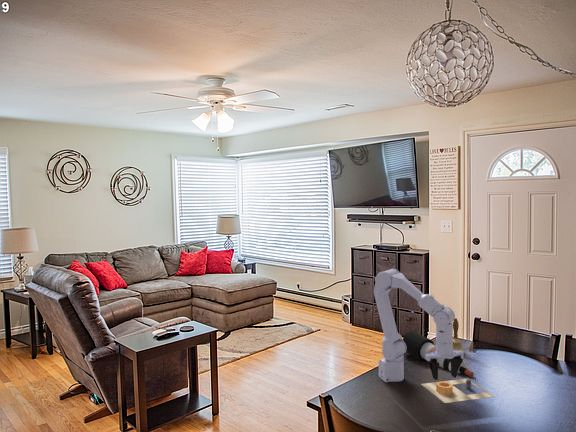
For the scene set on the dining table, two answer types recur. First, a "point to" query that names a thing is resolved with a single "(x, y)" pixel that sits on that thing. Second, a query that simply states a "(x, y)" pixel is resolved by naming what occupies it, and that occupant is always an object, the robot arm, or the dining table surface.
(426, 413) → the dining table surface
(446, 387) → the orange hexagonal nut
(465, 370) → the cable
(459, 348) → the hand bell
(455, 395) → the cream flat rectangular board
